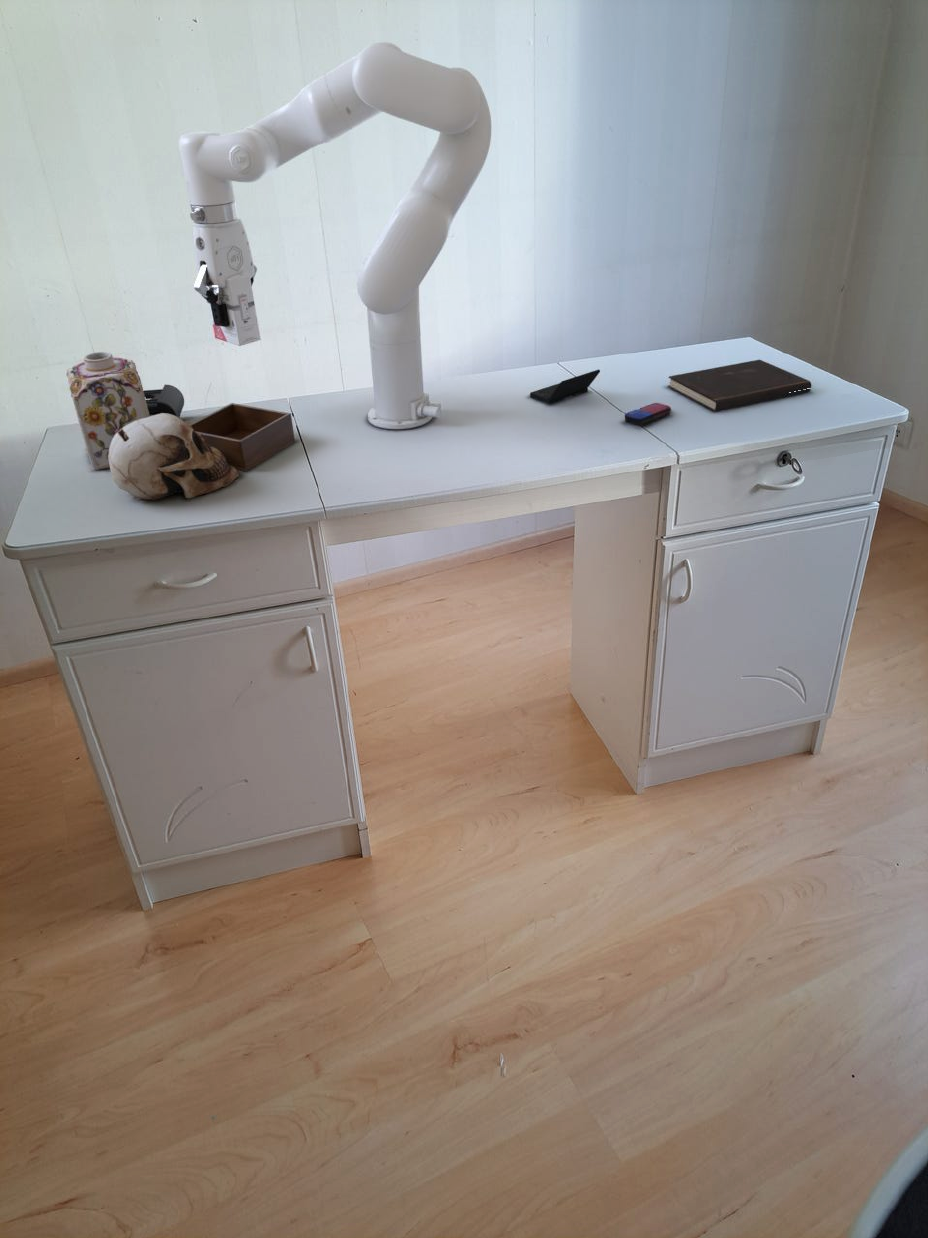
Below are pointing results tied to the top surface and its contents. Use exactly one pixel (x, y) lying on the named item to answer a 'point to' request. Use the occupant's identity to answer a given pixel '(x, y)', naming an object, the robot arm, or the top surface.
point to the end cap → (164, 401)
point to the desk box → (246, 433)
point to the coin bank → (166, 459)
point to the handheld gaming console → (565, 388)
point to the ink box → (238, 312)
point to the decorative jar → (105, 401)
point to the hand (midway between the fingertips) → (234, 319)
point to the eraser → (647, 414)
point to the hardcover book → (738, 385)
